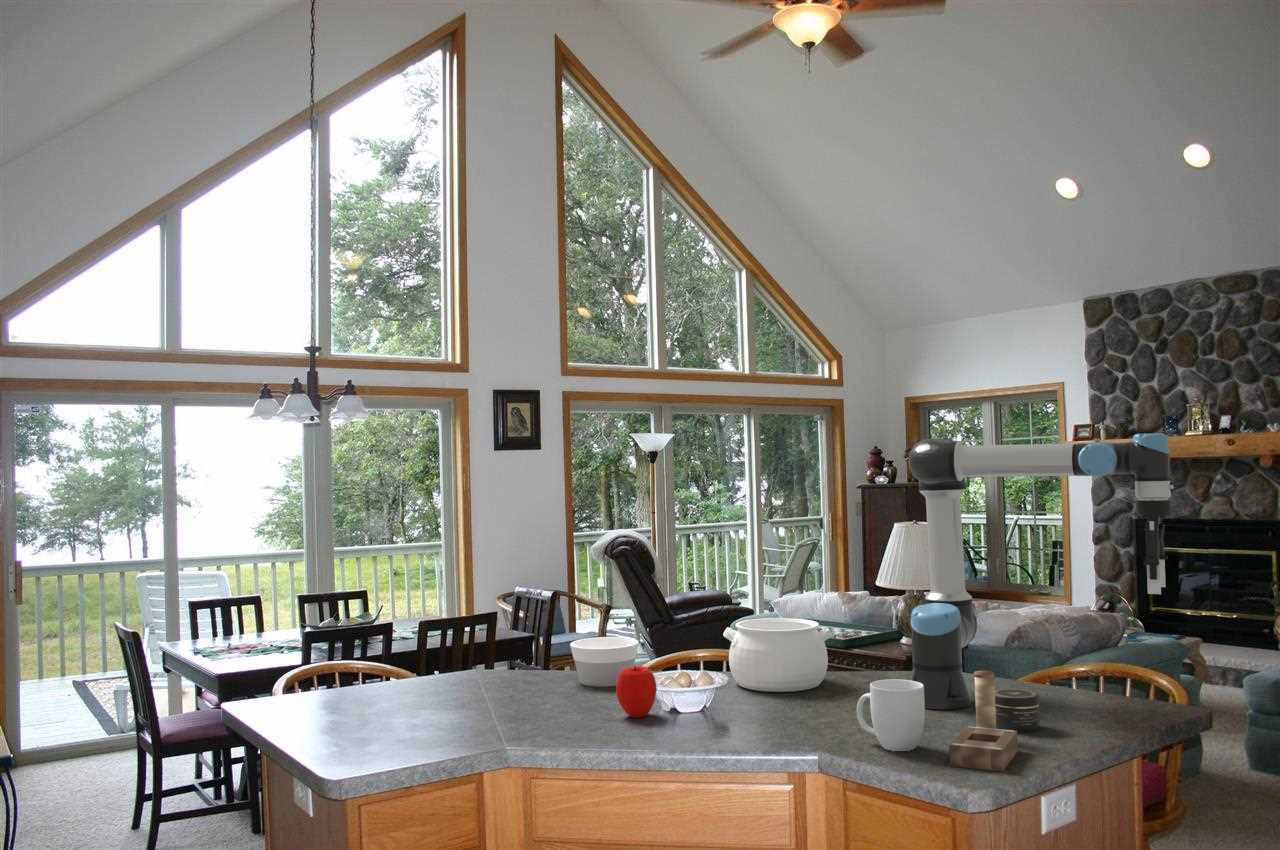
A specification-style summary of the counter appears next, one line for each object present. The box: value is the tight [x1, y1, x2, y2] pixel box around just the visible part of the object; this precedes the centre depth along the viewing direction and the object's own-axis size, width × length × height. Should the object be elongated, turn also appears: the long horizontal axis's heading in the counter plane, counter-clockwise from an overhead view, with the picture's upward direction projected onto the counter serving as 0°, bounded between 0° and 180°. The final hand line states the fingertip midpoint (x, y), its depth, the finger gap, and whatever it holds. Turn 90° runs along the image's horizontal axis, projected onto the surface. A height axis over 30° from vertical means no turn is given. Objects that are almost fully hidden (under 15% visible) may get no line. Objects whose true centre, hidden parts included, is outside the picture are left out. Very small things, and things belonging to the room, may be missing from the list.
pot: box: [722, 617, 833, 693], centre depth 287 cm, size 29×26×16 cm
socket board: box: [948, 725, 1019, 772], centre depth 213 cm, size 10×16×4 cm, turn 151°
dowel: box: [973, 670, 997, 729], centre depth 227 cm, size 4×4×14 cm
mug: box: [856, 679, 926, 752], centre depth 223 cm, size 15×11×13 cm
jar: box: [995, 688, 1040, 733], centre depth 236 cm, size 10×10×8 cm
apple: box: [615, 664, 658, 719], centre depth 256 cm, size 10×10×12 cm
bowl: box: [569, 636, 640, 688], centre depth 297 cm, size 19×19×11 cm
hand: (1156, 590), depth 249 cm, fingers open, 13 cm apart
